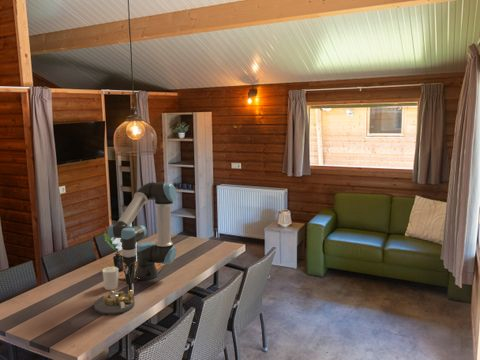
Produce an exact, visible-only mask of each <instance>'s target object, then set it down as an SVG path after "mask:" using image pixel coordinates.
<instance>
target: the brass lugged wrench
mask: <svg viewBox="0 0 480 360" xmlns="http://www.w3.org/2000/svg"><path fill="white" fill-rule="evenodd" d="M127 292H128V293H127V294H128V297H125V294H124V293H125V292H124V290H123V291H114V289H113V290H109V292H108V293H106V294H104V295H103V296H104V303H105V304H107V305H118V304H119V302H122V301H123V302H125V303H132V302H133V297H134V294H133V292H132V290H128V289H127ZM112 293H118V294H119V298H118V296H115V299H110V294H112Z"/></svg>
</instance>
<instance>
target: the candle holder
mask: <svg viewBox="0 0 480 360" xmlns="http://www.w3.org/2000/svg"><path fill="white" fill-rule="evenodd" d="M101 271H102V279H103V286H104V289H105V290H108V291H112V290H113V291H114V290H116V289H117V288H119V267H117V266H107V267H104V268H103V269H102V270H101Z"/></svg>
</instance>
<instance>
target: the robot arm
mask: <svg viewBox="0 0 480 360" xmlns="http://www.w3.org/2000/svg"><path fill="white" fill-rule="evenodd" d="M176 197H177V189H176V187H175V186H174V184H172V183H170V182H153V181H150V182H148V183H147V182H146V184H143V185H141V186H140V187H138V189H137V190H136V192H135V193H134V194H133V198H132V200H131V202H130V203H129V204H128V205H127V207H126V209H125V210H124V211H123V213H122V214H121V216H120V218H119V219H118V220H117V222H116V223H115V224H111V225H108V228H107V230H106V231H107V235H108V237H109V238H113V239H121V252H122V254H121V255H122V263H123V264H125V270H124V272H123V273H124V276H125V285H127V291H128V290H132V292H133V295H135V294H134V293H135V292H134V289H135V288H134V284H135V283H136V281H135V279H136V278H135V276H136V277H138V278H140V279H138V280H139V281H140V280H141V281H148V280H152V279H153V280H154V279H155V278H157V277H158V275H159V273H158V269H157V266H156V264H163V265H170V264H172V263H173V262H174V261H175V259H176V256H177V248H176V247H175V246H174V243H173V241H172V240H171V239H172V238H171V232H172V231H171V230H172V229H171V228H172V226H171V225H172V223H171V211H172V210H171V206H172V204H174V203H173V202H174V201H176ZM150 200H152V201H154V204H155V205H156V207H157V210H156V211H157V213H156V214H157V215H156V216H157V217H156V219H157V241H156V242H154V241H152V240H151V241H143V242H141V243H140V242H139V244H136V243H137V242H138V241H140V240H142V239H143V238H144V237H146V235H147V234H148V231H147V230H148V229H147V228H146V226H144V225H142V224H140V225H137V226H131V225H132V223H133V222H134V220H135V219H136V217H137V216H138V214H139V213H140V211H141V210H142V208H143V207H144V205H145V204H147V203H148V202H149V201H150ZM136 264H137V266H136Z"/></svg>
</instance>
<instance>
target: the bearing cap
mask: <svg viewBox="0 0 480 360" xmlns="http://www.w3.org/2000/svg"><path fill="white" fill-rule="evenodd" d="M124 294H125V297H128V293H125V292H124ZM104 296H105V295H103V296H100V297H99V298H97V299H96V300H95V302H94V306H93V307H94V312H95V313H97V314H98V315H101V316H118V315H122V314H125V313H127V312H129V311H131V310H132V309H133V308H134V306H135V297H134V296H133V302H132V303H125V302H123V301H122V302H119V304H118V305H107V304H105V303H104ZM115 296H118V298H119V294H118V293H112V294H110V299H115Z"/></svg>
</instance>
